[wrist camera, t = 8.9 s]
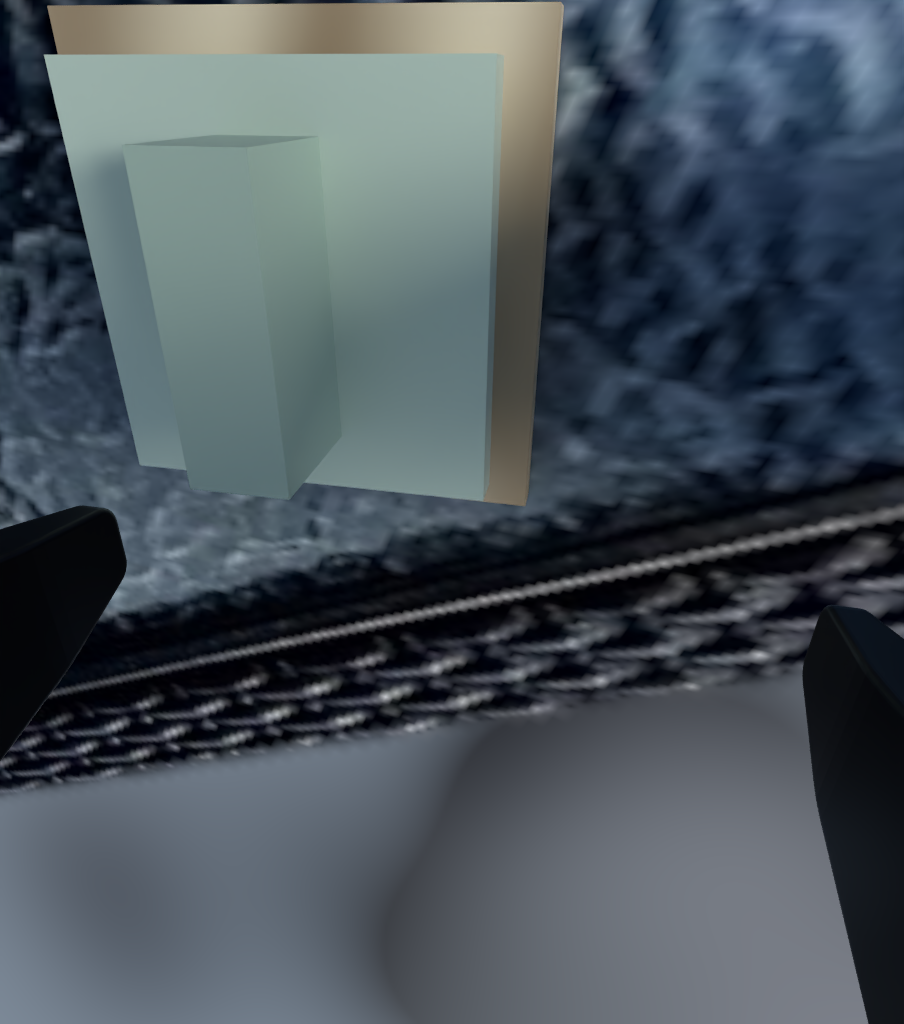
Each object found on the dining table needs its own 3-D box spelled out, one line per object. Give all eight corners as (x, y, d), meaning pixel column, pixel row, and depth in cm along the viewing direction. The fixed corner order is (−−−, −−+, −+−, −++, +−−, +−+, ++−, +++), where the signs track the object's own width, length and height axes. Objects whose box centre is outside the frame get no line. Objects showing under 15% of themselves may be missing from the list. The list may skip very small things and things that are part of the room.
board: (563, 5, 16) (560, 2, 15) (528, 493, 22) (525, 506, 21) (69, 8, 18) (47, 5, 17) (162, 453, 24) (148, 464, 23)
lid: (509, 56, 16) (462, 43, 11) (493, 471, 21) (456, 576, 16) (94, 57, 17) (-90, 46, 13) (172, 439, 22) (59, 527, 18)
